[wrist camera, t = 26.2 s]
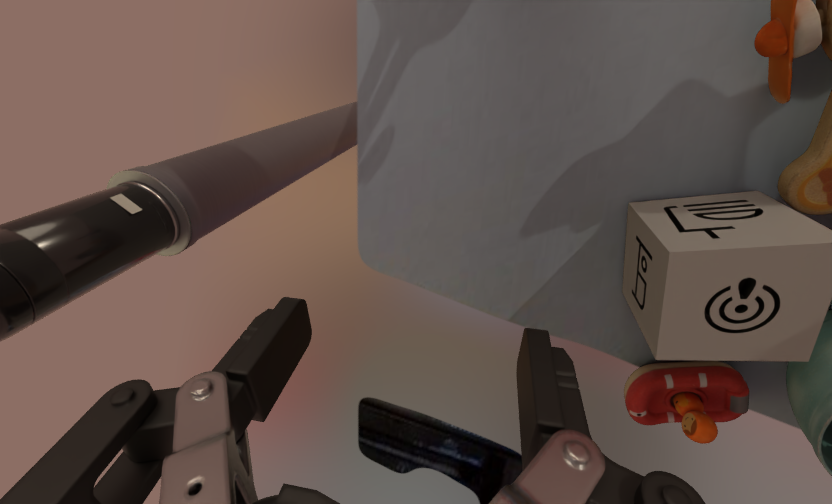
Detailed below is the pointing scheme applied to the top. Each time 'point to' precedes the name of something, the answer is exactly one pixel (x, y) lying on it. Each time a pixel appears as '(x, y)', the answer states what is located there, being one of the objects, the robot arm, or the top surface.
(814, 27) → the toy helicopter
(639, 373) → the toy boat
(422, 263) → the top surface
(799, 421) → the flower pot
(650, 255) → the icon cube
